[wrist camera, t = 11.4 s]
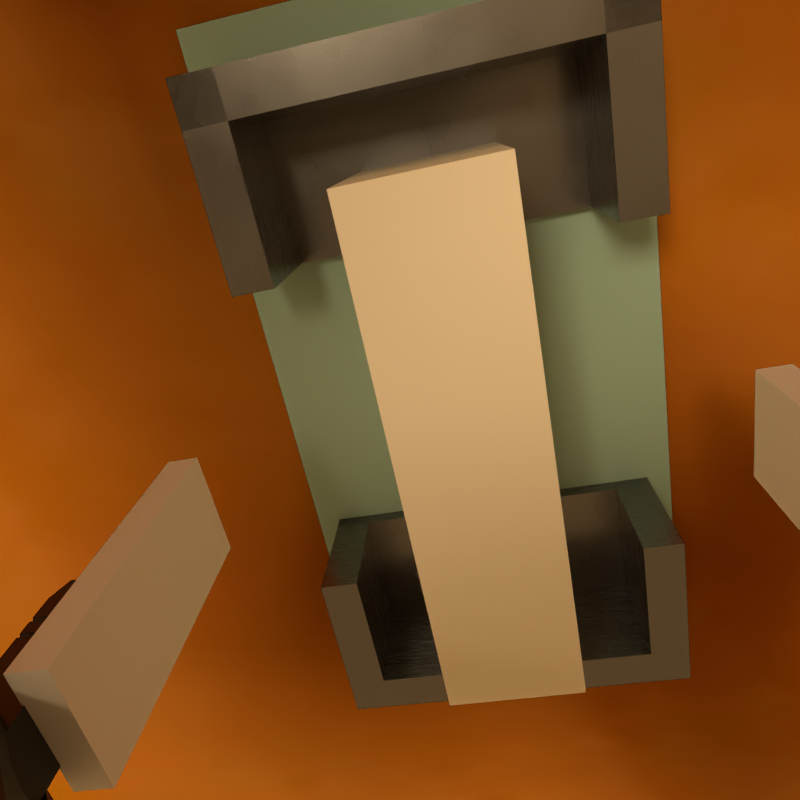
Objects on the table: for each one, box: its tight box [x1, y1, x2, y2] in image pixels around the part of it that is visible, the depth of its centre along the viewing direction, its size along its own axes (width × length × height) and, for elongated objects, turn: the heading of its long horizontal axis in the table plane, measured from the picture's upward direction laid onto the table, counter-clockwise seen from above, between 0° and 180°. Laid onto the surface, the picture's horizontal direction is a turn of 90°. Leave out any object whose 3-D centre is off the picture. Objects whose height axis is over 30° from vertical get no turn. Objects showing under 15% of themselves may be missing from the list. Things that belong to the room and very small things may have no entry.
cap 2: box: [321, 477, 691, 709], centre depth 23 cm, size 5×11×4 cm, turn 102°
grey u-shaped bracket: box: [165, 0, 670, 297], centre depth 17 cm, size 5×11×4 cm, turn 102°
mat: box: [176, 0, 673, 556], centre depth 22 cm, size 24×13×1 cm, turn 12°
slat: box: [327, 142, 586, 706], centre depth 19 cm, size 15×4×6 cm, turn 12°
